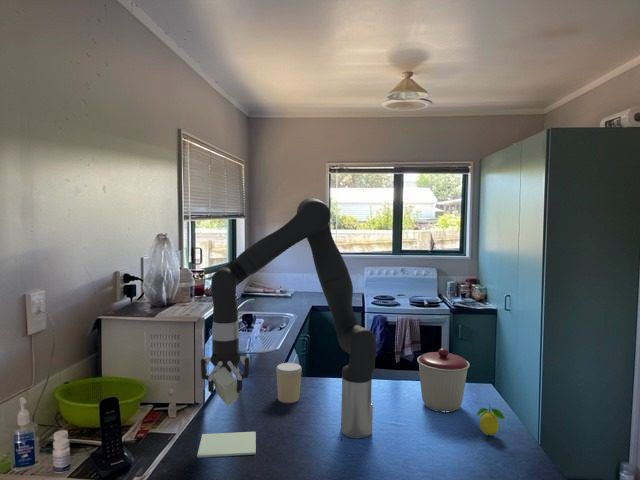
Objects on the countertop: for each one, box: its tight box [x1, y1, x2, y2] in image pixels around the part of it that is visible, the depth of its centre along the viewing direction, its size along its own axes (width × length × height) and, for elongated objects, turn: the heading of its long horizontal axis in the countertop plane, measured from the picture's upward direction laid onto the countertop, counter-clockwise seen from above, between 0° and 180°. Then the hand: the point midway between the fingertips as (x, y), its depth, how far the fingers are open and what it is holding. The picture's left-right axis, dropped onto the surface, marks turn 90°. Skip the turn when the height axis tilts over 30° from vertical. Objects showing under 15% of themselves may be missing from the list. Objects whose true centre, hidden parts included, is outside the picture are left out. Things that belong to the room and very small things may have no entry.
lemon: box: [476, 404, 506, 436], centre depth 137 cm, size 7×6×10 cm
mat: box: [196, 431, 257, 459], centre depth 129 cm, size 16×12×1 cm
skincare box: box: [212, 367, 239, 407], centre depth 130 cm, size 6×4×12 cm
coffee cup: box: [275, 362, 302, 404], centre depth 162 cm, size 9×9×12 cm
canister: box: [416, 347, 471, 413], centre depth 158 cm, size 18×18×21 cm
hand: (225, 392), depth 129 cm, fingers closed on skincare box, 7 cm apart
